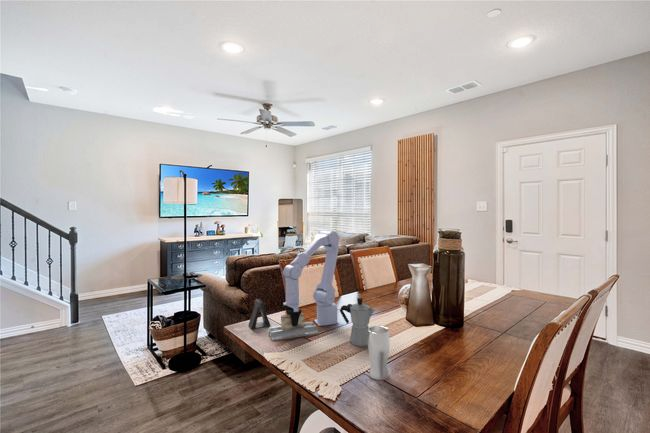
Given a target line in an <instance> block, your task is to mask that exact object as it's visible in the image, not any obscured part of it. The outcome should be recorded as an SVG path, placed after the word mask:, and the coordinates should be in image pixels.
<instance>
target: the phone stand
mask: <svg viewBox="0 0 650 433" xmlns="http://www.w3.org/2000/svg"><path fill="white" fill-rule="evenodd" d="M259 314H261V319H262V321H261V322H258V318H259ZM248 326H249V327H250V329H251V330H257V329H263V328H269V327H272V326H271V323H270V320H269V318H268V315H267V313H266V311H265V303H264V302H263V301H262V300H261V299H260V298H258V299H257V298H256V299H255V300H254V306H253V310H252V312H251V315H250V318H249V322H248Z"/></svg>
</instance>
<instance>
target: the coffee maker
mask: <svg viewBox="0 0 650 433" xmlns="http://www.w3.org/2000/svg"><path fill="white" fill-rule="evenodd" d="M356 299H357V303H355V304H351V303H348V304H347V305H346V304H345V305H342V306H341V307H340V309H339V313H340V315H341V316H342V317H343V319H344V321H345V323H346V325H348V324H349V323H350V320H349V318H348V317H347V315H346V313H345V312H347V313H349V314H350V319H351V322H352V326H351V330H350V338H349V344H351V345H352V346H354V347H359V348H365V347H368V328H369V327H370V326H369V324H370V319H371V318H372V315H373V313H374V312H375V311H376V309H375V308H372V307H370V305H368V304H364V303H363V300H364V299H363V298H362V297H358V298H356ZM344 311H345V312H344Z"/></svg>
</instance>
